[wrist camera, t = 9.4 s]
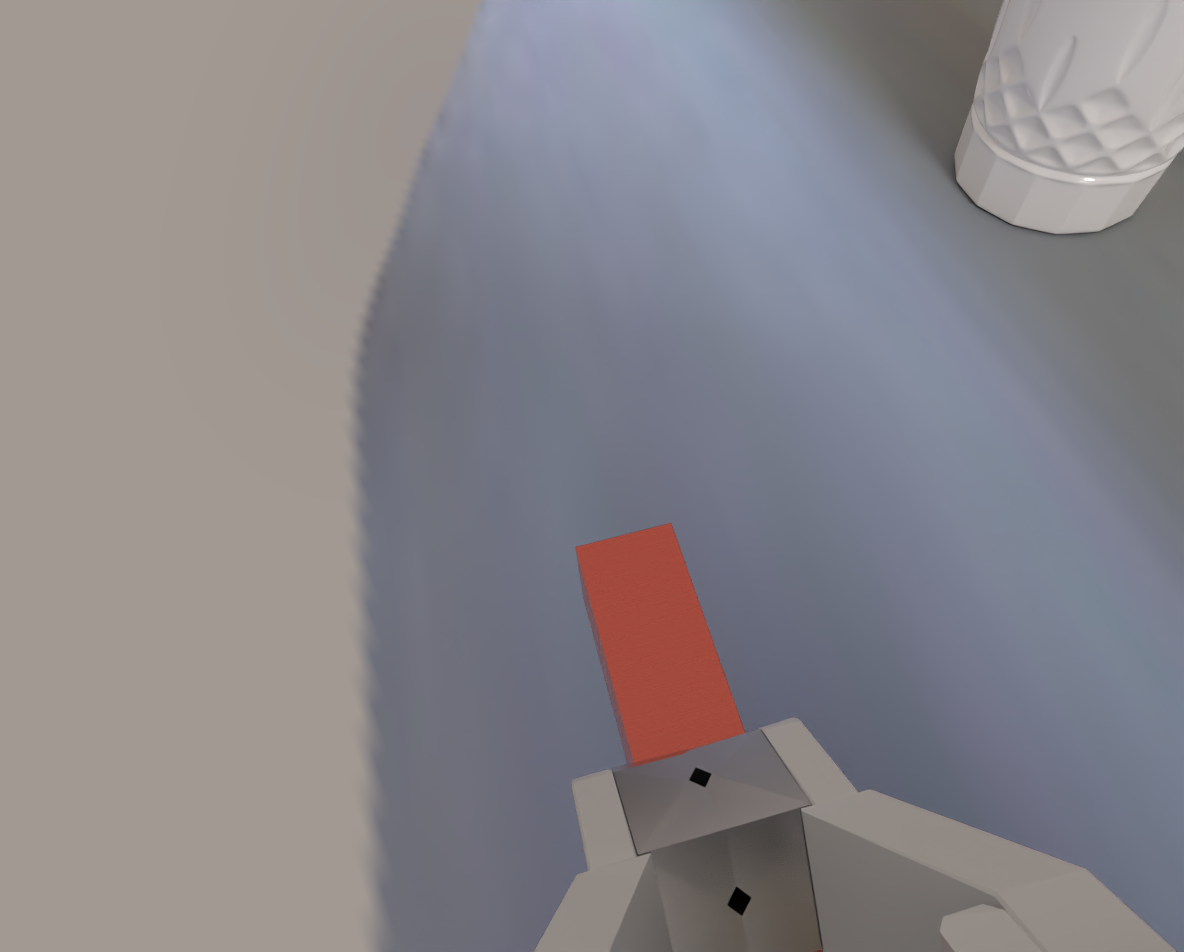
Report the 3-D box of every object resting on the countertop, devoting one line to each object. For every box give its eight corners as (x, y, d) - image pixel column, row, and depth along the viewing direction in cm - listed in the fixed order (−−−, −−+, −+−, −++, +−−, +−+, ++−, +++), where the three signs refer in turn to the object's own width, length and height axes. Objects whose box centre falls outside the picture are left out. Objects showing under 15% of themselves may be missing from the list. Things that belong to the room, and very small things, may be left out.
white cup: (918, 218, 28) (1039, -100, 19) (955, 102, 31) (1071, -207, 23) (1152, 270, 26) (1401, -59, 17) (1162, 139, 29) (1373, -185, 21)
